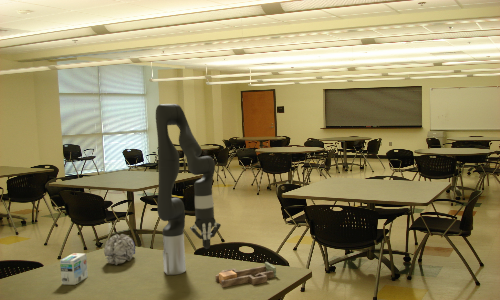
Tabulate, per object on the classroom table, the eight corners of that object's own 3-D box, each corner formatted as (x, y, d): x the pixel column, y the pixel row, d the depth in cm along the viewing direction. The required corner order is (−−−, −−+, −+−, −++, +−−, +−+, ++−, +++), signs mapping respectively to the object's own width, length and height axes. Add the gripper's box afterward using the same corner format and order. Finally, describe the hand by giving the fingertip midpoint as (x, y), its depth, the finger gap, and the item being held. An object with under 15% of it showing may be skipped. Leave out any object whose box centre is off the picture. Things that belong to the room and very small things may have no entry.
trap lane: (225, 290, 185) (225, 280, 184) (212, 278, 199) (212, 269, 199) (280, 279, 194) (279, 269, 194) (263, 268, 209) (263, 259, 208)
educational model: (137, 269, 235) (140, 239, 240) (127, 263, 216) (130, 230, 222) (110, 269, 235) (113, 239, 241) (97, 263, 217) (101, 230, 222)
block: (224, 286, 190) (223, 276, 190) (219, 282, 194) (218, 273, 194) (237, 283, 193) (236, 273, 192) (232, 279, 197) (231, 270, 197)
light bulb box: (75, 285, 199) (73, 260, 198) (61, 284, 200) (59, 260, 199) (88, 276, 209) (86, 253, 208) (75, 276, 211) (73, 252, 210)
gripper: (216, 202, 194) (218, 243, 195) (185, 206, 189) (188, 248, 190) (222, 205, 187) (225, 247, 188) (191, 209, 182) (193, 253, 183)
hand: (206, 248), depth 189 cm, fingers closed
